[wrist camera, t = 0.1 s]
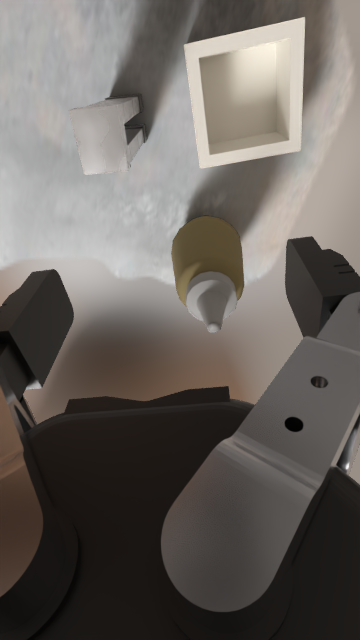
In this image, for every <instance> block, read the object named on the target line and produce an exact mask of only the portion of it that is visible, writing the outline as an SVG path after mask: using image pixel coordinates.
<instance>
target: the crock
mask: <svg viewBox="0 0 360 640" xmlns="http://www.w3.org/2000/svg"><path fill="white" fill-rule="evenodd" d="M304 37H305V17H303V18H298V19H294V20H289V21H285V22H281V23H276V24H272V25H267V26H263V27H258V28H254V29H250V30H245V31H241V32H236V33H232V34H228V35H223V36H219V37H214V38H210V39H206V40H201V41H197V42H192V43H188V44H184V50H185V58H186V65H187V73H188V81H189V88H190V96H191V104H192V111H193V119H194V127H195V134H196V142H197V149H198V157H199V165H200V169H203V168H208V167H214V166H219V165H225V164H230V163H236V162H241V161H247V160H252V159H258V158H263V157H269V156H274V155H280V154H285V153H291V152H296V151H301V132H302V100H303V69H304Z"/></svg>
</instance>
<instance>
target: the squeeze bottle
mask: <svg viewBox="0 0 360 640" xmlns="http://www.w3.org/2000/svg"><path fill="white" fill-rule="evenodd" d="M171 254H172V261H173V268H174V276H175V283H176V289H177V293H178V295H179V298H180V300H181V301H182V302H183V304H184V305H185V306H186V307H187V309H188V311H189V312H190V314H191V315H192V316H193V317H194V318H196V319H198V320H201V321H203V322H204V323H205V325H206V327H207V330H208V331H209V332H212V333H216V332H218V331H219V330H220V329H221V326H222V321H223V319H225V318H227V317H228V316H230V315H231V314H232V312H233V311H234V310H235V308H236V305H237V301H238V300H239V299H240V297H241V295H242V292H243V288H244V274H243V258H242V247H241V241H240V236H239V235H238V233H237V232H236V231H235V229H234V228H233V226H232V225H230V224H228V223H227V222H225V221H223V220H222V219H220V218H216V217H210V216H202V217H198V218H195V219H193V220H191V221H190V222H188V223H187V224H186V225H184V226H183V227H182V228H180V229H179V231H178V233H177V235H176V236H175V238H174V240H173V245H172V253H171Z"/></svg>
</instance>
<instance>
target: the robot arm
mask: <svg viewBox="0 0 360 640" xmlns="http://www.w3.org/2000/svg"><path fill="white" fill-rule="evenodd" d="M285 287H286V295H287V298H288V301H289V303H290V306H291V308H292V311H293V313H294V316H295V318H296V320H297V323H298V325H299V327H300V330H301V332H302V335H303V337H304V338H303V340H302V341H301V342H300V344H299V345H298V346H297V348H296V349H295V351H294V352H293V353H292V355H291V356H290V357H289V359H288V360H287V362H286V363H285V364H284V366H283V367H282V369H281V370H280V371H279V373H278V374H277V375H276V377H275V378H274V380H273V381H272V382H271V384H270V385H269V386H268V388H267V390H266V391H265V392H264V394H263V395H262V396H261V398H260V399H259V400H258V402H257V403H256V404H255V405H254V404H251V403H248V402H244V401H240V400H235V399H230V396H229V388H228V386H226V387H213V388H201V389H189V390H185V391H181V392H178V393H174V394H171V395H167V396H164V397H160V398H157V399H153V400H150V401H136V400H129V399H121V398H115V397H107V396H105V397H93V398H81V399H70V400H69V401H68V404H67V407H66V409H65V412H64V413H61V414H58V415H56V416H53V417H51V418H49V419H47V420H45V421H43V422H41V423H40V424H37V422H36V420H35V417H34V415H33V413H32V410H31V408H30V406H29V404H28V402H27V400H26V399H25V397H24V395H23V393H24V391H25V390H26V389H37V388H42V387H43V384H44V382H45V380H46V378H47V376H48V374H49V372H50V370H51V368H52V365H53V363H54V361H55V359H56V357H57V355H58V353H59V350H60V348H61V346H62V344H63V342H64V340H65V338H66V335H67V333H68V331H69V329H70V327H71V325H72V323H73V318H74V312H73V308H72V304H71V302H70V299H69V297H68V295H67V292H66V290H65V287H64V285H63V283H62V280H61V278H60V275H59V274H58V272H57V271H56V270H54V269H52V270H44V271H36V272H32V273H31V274H30V276H29V277H28V278H27V279H26V281H25V282H24V283H23V284H22V286H21V287H20V288H19V289H18V290H16V291H15V292H14V293H12V294H11V295H9V297H8V298H7V299H6V300H5V301H4V303H3V304H2V306H1V307H0V640H360V485H359V484H358V483H357V482H356V481H355V480H353V479H352V478H351V477H350V476H349V473H350V471H351V468H352V465H353V462H354V460H355V457H356V454H357V451H358V448H359V445H360V277H359V276H358V274H357V273H356V272H355V270H354V269H353V268H352V267H351V266H350V265H349V263H348V262H347V260H346V259H345V258H344V257H343V255H341V254H339V253H337V252H335V251H333V250H331V249H326V250H322V249H321V248H320V246H319V245H318V244H317V242H316V241H315V240H314V238H313V237H312V236H311V237H303V238H296V239H288V241H287V246H286V274H285Z"/></svg>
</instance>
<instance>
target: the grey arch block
mask: <svg viewBox="0 0 360 640" xmlns="http://www.w3.org/2000/svg"><path fill="white" fill-rule="evenodd" d="M142 111H143V103H142V95H141V94H135V95H126V96H116V97H108V98H105V100H104V101H101V102H98V103H95V104H92V105H89V106H86V107H81V108H74V109H71V110H69V113H70V117H71V122H72V126H73V130H74V134H75V138H76V143H77V147H78V151H79V155H80V159H81V164H82V168H83V172H84V175H89V174H100V173H111V172H123V171H128V170H129V168H130V167H131V164H130V163H131V162H132V160H133V158H134V157H135V155H136V154H137V152H138V151H139V149H140V147H141V146H142V144H143V143H145V142H146V141H147V134H146V126H145V124H143V125H133V126H124V124H125V123H126V122H128V121H129V120H130V119H131V118H133V117H134V116H135V115H136V114H137V113H141V112H142Z"/></svg>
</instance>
